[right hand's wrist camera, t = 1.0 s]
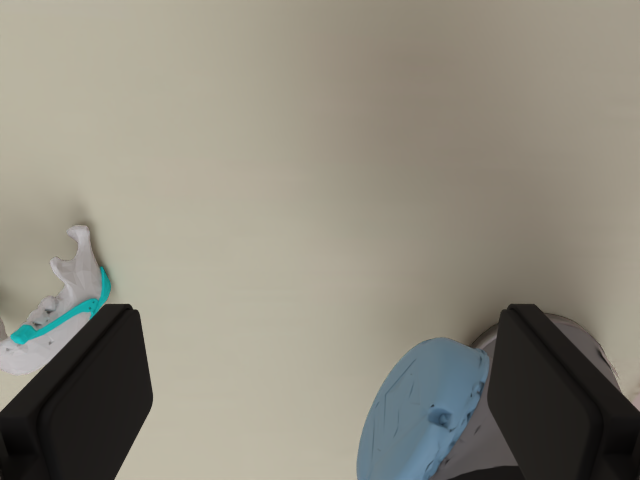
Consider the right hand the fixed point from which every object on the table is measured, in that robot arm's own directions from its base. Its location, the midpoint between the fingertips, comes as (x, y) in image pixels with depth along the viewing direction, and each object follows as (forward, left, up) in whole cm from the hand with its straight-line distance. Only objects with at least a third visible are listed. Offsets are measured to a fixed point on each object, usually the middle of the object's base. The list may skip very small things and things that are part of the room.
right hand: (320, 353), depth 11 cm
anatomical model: (+12, -28, -30) cm, 43 cm away
